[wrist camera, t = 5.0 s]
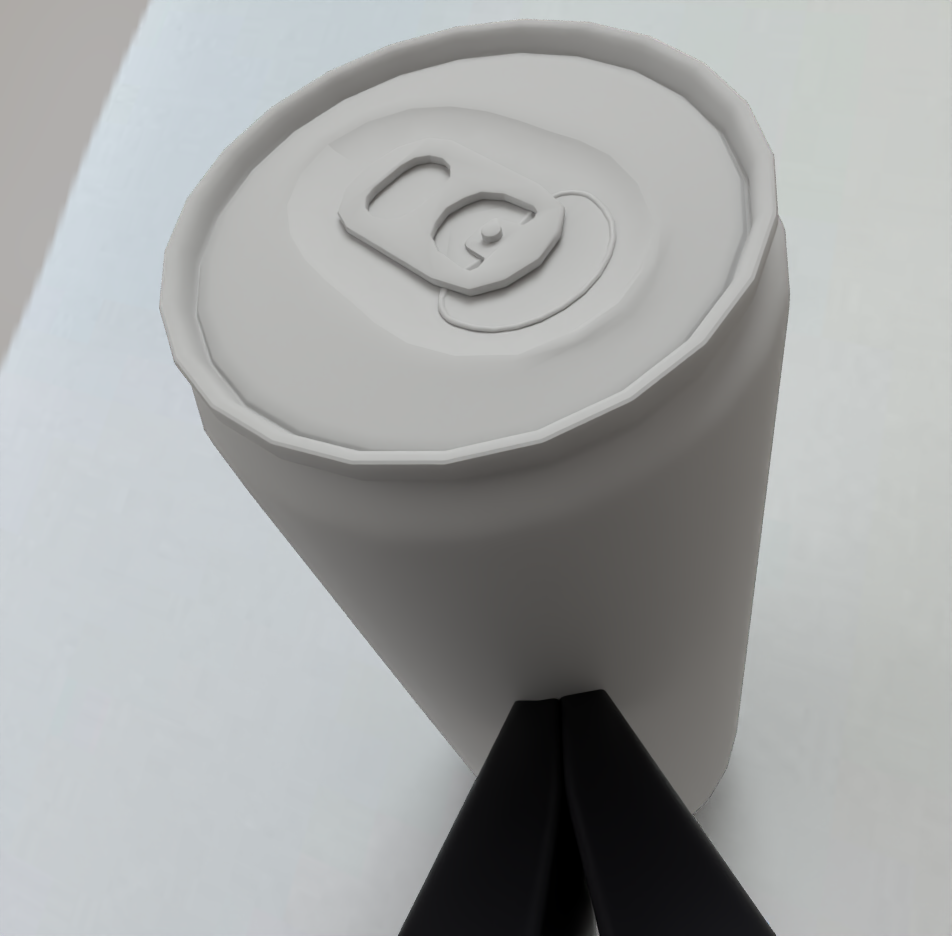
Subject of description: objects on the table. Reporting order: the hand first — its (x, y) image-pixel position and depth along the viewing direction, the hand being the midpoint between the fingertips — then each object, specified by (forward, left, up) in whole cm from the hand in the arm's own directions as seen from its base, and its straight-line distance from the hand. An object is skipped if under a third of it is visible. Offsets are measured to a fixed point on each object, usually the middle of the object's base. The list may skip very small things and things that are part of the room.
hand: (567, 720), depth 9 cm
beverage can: (0, 0, -8) cm, 8 cm away
